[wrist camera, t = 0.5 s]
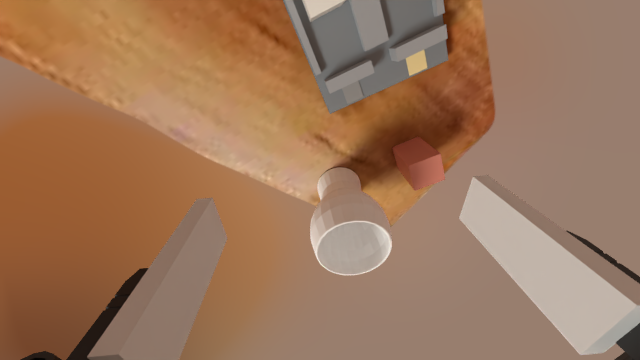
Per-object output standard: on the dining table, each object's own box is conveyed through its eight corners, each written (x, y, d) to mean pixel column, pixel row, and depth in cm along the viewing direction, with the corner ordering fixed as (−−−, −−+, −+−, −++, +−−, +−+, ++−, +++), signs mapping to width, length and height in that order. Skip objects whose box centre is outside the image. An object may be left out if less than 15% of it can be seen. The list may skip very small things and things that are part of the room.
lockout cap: (391, 147, 38) (408, 166, 32) (418, 136, 37) (440, 153, 31) (398, 169, 40) (414, 190, 34) (423, 159, 39) (445, 179, 33)
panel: (258, -60, 25) (250, -78, 21) (412, -156, 22) (432, -195, 18) (328, 111, 34) (331, 118, 31) (442, 59, 31) (459, 60, 28)
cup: (361, 151, 38) (390, 206, 25) (372, 201, 43) (401, 267, 30) (301, 169, 39) (298, 230, 26) (319, 215, 44) (324, 285, 31)
